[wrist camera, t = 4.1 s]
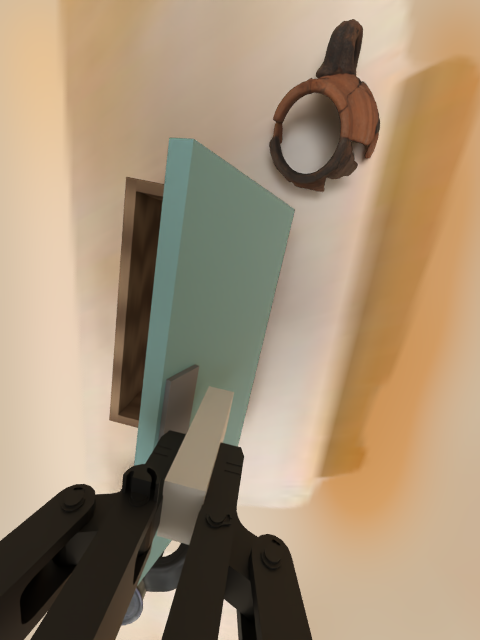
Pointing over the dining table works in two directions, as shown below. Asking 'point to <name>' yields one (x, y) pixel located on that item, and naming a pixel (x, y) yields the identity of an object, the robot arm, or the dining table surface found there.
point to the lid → (207, 294)
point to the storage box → (135, 296)
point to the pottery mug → (351, 105)
